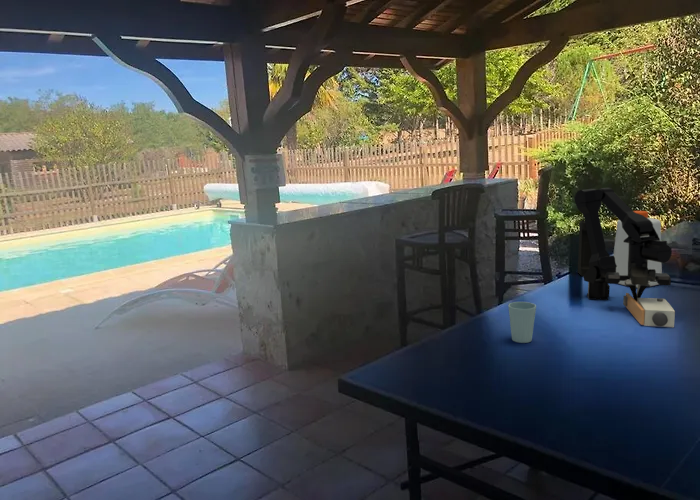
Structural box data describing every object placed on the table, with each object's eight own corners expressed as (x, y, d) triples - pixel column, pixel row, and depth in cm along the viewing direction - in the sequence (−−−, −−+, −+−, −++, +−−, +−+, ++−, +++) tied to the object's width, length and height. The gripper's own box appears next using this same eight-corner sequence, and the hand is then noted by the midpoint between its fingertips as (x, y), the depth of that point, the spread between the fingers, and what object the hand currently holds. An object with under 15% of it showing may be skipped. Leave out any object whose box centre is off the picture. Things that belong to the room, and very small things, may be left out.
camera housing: (644, 327, 172) (645, 309, 171) (636, 312, 186) (637, 295, 185) (674, 328, 170) (676, 310, 168) (664, 313, 184) (665, 296, 183)
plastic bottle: (605, 281, 226) (608, 211, 221) (632, 276, 232) (635, 208, 227) (639, 289, 213) (642, 215, 207) (666, 284, 219) (671, 211, 214)
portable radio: (596, 272, 241) (598, 214, 237) (600, 276, 235) (603, 216, 231) (576, 273, 242) (578, 214, 237) (581, 276, 236) (583, 216, 231)
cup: (514, 345, 162) (515, 309, 160) (503, 336, 169) (504, 302, 167) (540, 343, 163) (540, 307, 161) (528, 334, 170) (528, 300, 168)
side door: (638, 324, 173) (638, 310, 172) (622, 306, 192) (623, 292, 191) (643, 324, 173) (644, 310, 172) (627, 306, 192) (628, 292, 191)
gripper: (608, 262, 181) (607, 309, 184) (675, 263, 175) (672, 312, 178) (605, 255, 192) (604, 300, 194) (668, 256, 185) (666, 302, 188)
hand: (636, 303), depth 188 cm, fingers closed
